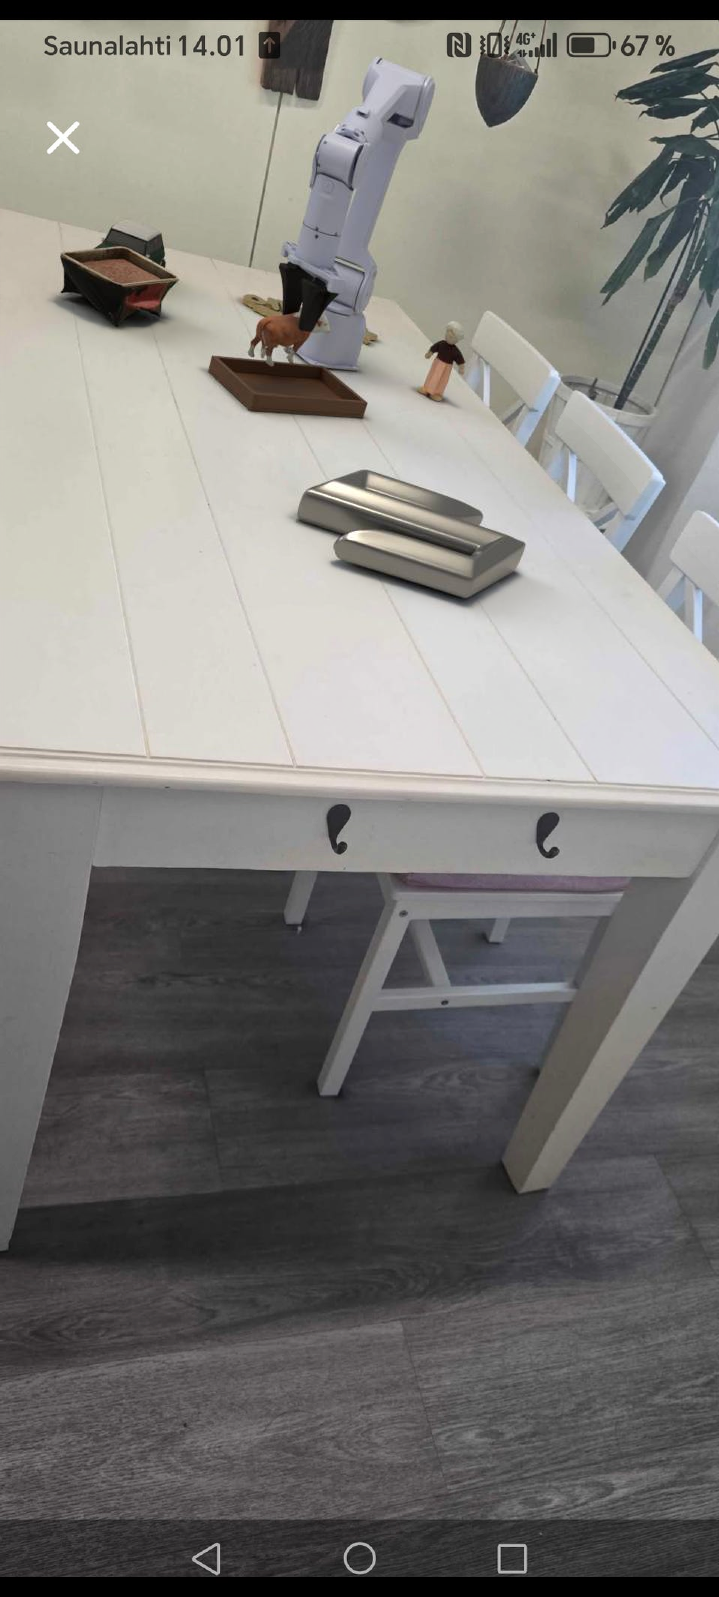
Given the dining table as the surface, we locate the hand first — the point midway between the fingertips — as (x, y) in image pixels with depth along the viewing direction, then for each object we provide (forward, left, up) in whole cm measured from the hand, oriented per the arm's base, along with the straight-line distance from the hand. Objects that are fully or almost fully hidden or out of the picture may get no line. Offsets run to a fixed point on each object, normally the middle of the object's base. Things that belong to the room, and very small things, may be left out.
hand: (297, 323), depth 181 cm
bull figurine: (+1, -1, -6) cm, 6 cm away
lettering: (-25, -32, -10) cm, 42 cm away
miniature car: (+6, -44, -10) cm, 46 cm away
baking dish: (+16, -27, -10) cm, 33 cm away
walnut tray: (0, +2, -10) cm, 10 cm away
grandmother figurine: (-32, -2, -10) cm, 34 cm away
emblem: (+8, +47, -10) cm, 49 cm away
